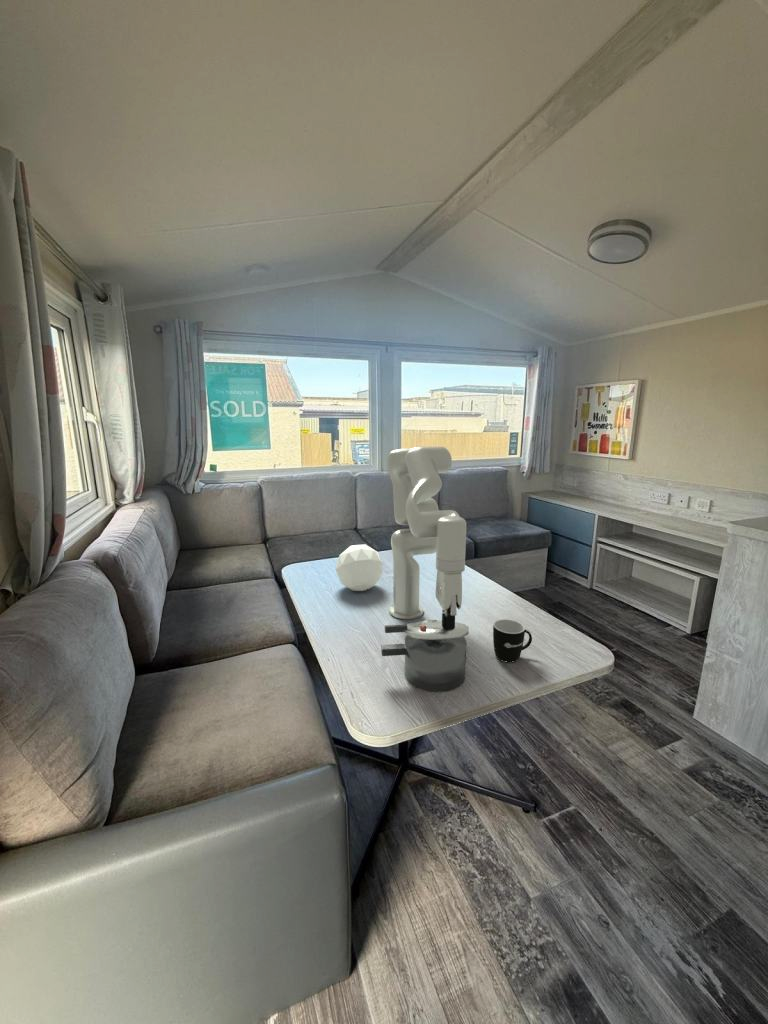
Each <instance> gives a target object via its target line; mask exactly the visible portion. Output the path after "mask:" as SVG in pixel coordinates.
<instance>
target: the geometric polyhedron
mask: <svg viewBox="0 0 768 1024" xmlns="http://www.w3.org/2000/svg"><path fill="white" fill-rule="evenodd" d="M335 566H336V567H335V572H336V574H337V577H338V579H339V581H340V584H341V585H343V586H344V587H346V588H348V589H349V590H352V592H364V591H368V590H370V589H371V588H373V587H374V586H376V585H377V583H378V582H379V580H380V578H381V577H382V575H383V563H382V560H381V558H380V555H379V552H378V551H377V550H375V549H374V548H372V547H371V546H368V545H367V544H366V543H365V544H354V545H353V544H352V545H350V546H348V548H346V549H344V551H343V552H342V553H340V554H339V556H338V558H337V562H336V565H335ZM367 589H368V590H367Z"/></svg>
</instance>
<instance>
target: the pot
mask: <svg viewBox="0 0 768 1024" xmlns="http://www.w3.org/2000/svg"><path fill="white" fill-rule="evenodd" d="M467 645H468V643H467V640H466V638H465V636H464V637H460V638H456V639H448V640H424V639H416V638H411V637H408V636H406V635H405V637H404V643H396V644H395V643H393V644H391V643H390V644H381V646H380V647H381V648H380V649H381V650H380V651H381V652H380V653H381V657H392V656H394V657H395V656H404V669H403V670H404V671H403V672H404V677H405V679H406V680H407V682H408V683H410V685H412V686H413V687H415V688H417V689H419V690H423V691H425V692H430V693H445V692H446V693H447V692H452V691H454V690H456V689H458V688H460V687H461V686H462V685H463V684H464V683H465V680H466V670H467V669H466V668H467V651H468V650H467V649H468V648H467V647H468V646H467Z"/></svg>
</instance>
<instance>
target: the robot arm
mask: <svg viewBox="0 0 768 1024" xmlns="http://www.w3.org/2000/svg"><path fill="white" fill-rule="evenodd" d="M452 465H453V459H452V454H451V452H450V451H449V449H447V448H446V447H445V446H416V447H412V448H399V449H394V450H391V451H390V452H389V453H388V454H387V459H386V467H387V470H388V475H389V478H390V480H391V484H392V489H393V492H392V493H393V494H392V495H393V513H394V514H393V515H394V520H395V522H396V523H397V524H398V525H401V526H408V527H409V528H401V529H397V530H396V531H393V533H392V534H391V537H390V546H391V551H392V559H393V560H392V561H393V564H392V566H393V570H392V571H393V577H392V578H393V579H392V580H393V583H392V584H393V591H392V593H393V594H392V595H393V596H392V597H393V601H392V602H393V604H392V605H390V606H389V609H388V612H389V613H388V614H390V615H391V616H392V617H393V618H397V619H400V620H412V619H413V620H414V619H417V618H420V617H421V616H422V615H424V608H423V606H421V605H420V583H421V582H420V580H421V578H420V571H421V570H420V565H419V562H418V561H417V560H416V559H415V558H414V556H421V555H431V554H432V555H433V554H435V569H436V580H435V581H436V582H435V598H436V600H437V602H438V604H439V605H440V607H441V609H442V610H441V611H442V614H441V621H442V627H443V629H454V628H455V622H456V616H457V614H458V613H457V609H458V610H460V609H461V608H462V604H463V602H462V600H463V574H462V573H463V572H464V571H465V570H466V569H465V568H466V548H467V547H466V546H467V521H466V520H465V518H463V517H461V516H460V515H459V513H458V512H457V511H456V510H453V509H445V510H444V509H443V510H440V509H439V505H438V503H437V501H436V500H435V499H434V498H433V497H435V496H436V495H437V494H438V493H439V492H440V491H441V489H442V486H443V482H442V479H441V477H440V475H439V474H447V473H449V472H450V470H451V468H452Z"/></svg>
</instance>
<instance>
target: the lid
mask: <svg viewBox="0 0 768 1024" xmlns="http://www.w3.org/2000/svg"><path fill="white" fill-rule="evenodd" d="M384 633H385V634H393V633H395V634H397V633H403V635H404V636H405V637H406V636H408V637H411V638H416V639H424V640H448V639H456V638H460V637H464V638H465V637H466V636H468V635H469V634H470V627H469V626H468V625H466V624H465V623H461V622H456V621H455V628H454V629H443V627H442V620H437V619H433V620H432V619H431V620H420V621H416V622H410V623H406V624H391V625H390V624H389V625H384Z"/></svg>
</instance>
